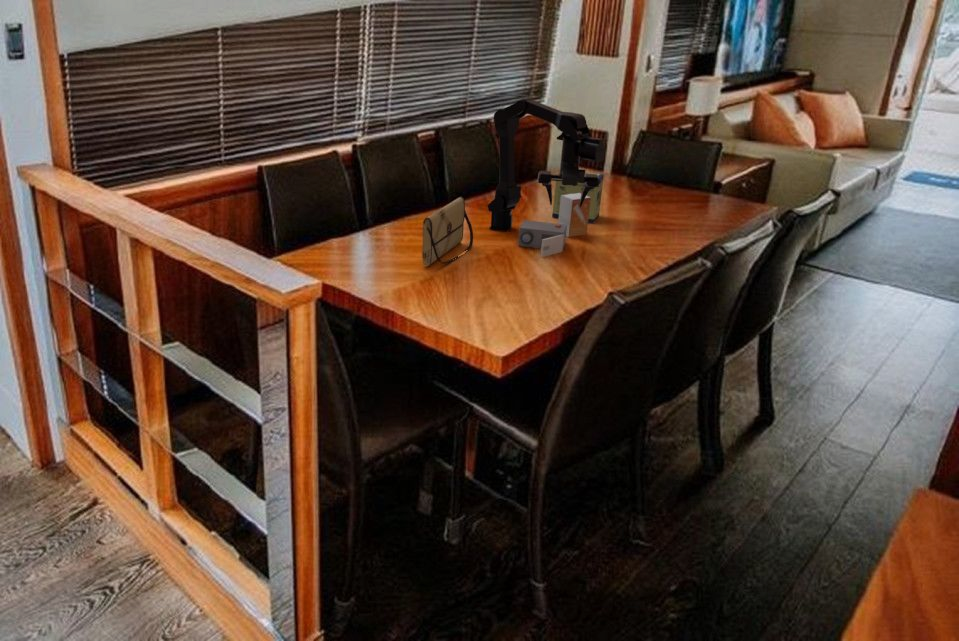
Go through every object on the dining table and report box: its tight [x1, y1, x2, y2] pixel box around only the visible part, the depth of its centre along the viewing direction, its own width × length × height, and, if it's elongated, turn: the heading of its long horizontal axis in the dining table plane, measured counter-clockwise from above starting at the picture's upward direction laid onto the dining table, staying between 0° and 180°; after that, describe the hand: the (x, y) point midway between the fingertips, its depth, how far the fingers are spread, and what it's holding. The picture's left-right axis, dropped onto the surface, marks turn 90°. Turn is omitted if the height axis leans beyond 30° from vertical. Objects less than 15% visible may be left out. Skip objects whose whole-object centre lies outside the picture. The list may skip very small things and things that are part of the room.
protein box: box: [551, 171, 605, 224], centre depth 282 cm, size 10×16×16 cm
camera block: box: [517, 219, 567, 249], centre depth 252 cm, size 14×10×7 cm
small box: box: [557, 193, 591, 238], centre depth 264 cm, size 8×6×13 cm
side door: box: [540, 234, 565, 258], centre depth 244 cm, size 10×1×6 cm, turn 132°
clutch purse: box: [421, 196, 474, 267], centre depth 237 cm, size 30×7×15 cm, turn 160°
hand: (565, 205), depth 249 cm, fingers open, 9 cm apart
